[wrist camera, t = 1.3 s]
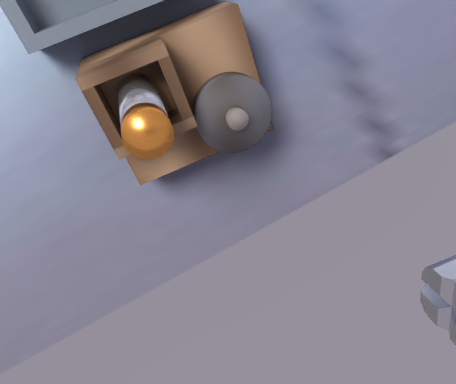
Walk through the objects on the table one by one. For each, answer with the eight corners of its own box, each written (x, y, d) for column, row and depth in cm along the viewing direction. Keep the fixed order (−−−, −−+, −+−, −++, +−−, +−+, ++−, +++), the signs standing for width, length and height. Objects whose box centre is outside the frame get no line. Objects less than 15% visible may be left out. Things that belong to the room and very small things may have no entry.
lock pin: (147, 67, 28) (161, 102, 21) (162, 102, 30) (181, 147, 22) (110, 82, 28) (111, 122, 21) (128, 117, 30) (135, 167, 22)
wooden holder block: (224, 0, 31) (250, 7, 25) (258, 114, 37) (287, 141, 31) (81, 58, 31) (75, 79, 25) (137, 165, 36) (143, 203, 30)
